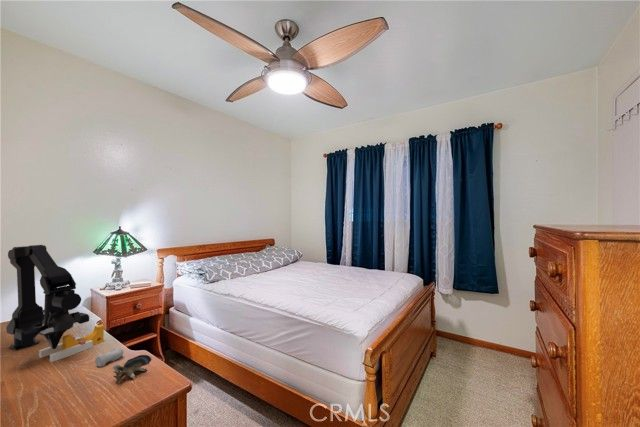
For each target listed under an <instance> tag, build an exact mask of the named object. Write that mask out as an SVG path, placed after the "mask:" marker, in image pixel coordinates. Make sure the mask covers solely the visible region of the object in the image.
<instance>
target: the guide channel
mask: <svg viewBox="0 0 640 427" xmlns="http://www.w3.org/2000/svg"><path fill="white" fill-rule="evenodd" d="M82 338H83V337H82V336H78V337H75V336H73V339H74V340H75V341H78V340H80V339H82ZM93 346H94V345H93V341H92V340H89V341H87V342H86V341H84V340H82V341H79V344H78V345H75V346H72V347H70V348H67V349H64V350H62V342H59V343H58V345H57V347H56V349H52V348H51V346H48V347H45V348H42V349H39V350H38V353H39V354H38V357H39V358H41V359H42V358H44V357H47V356H49V362H51V363H53V362H58V361H60V360H62V359H65V358H68V357H70V356H72V355H76V354H78V353H80V352H83V351H85V350H89V349H91V348H93Z"/></svg>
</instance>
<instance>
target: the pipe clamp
mask: <svg viewBox="0 0 640 427" xmlns="http://www.w3.org/2000/svg"><path fill="white" fill-rule="evenodd" d="M93 328H94V329H93V331H92V332H91V333H88V334H87V335H86V336H84V337H82V339H80V340H78V341H75V340H74V339H73V337H74V335H73V334H70V333H69V334H66V335H62V341H61V343H62V350H64V349H67V348H70V347H72V346H75V345H78V344H79V341H82V340H84V341H86V342H87V341H89V340H92V341H93V346H95V345H97V344H100V343H102V342H104V335H105V333H104V332H105V330H104V329H105V326H104V325H102V324H99V325H98V324H97V325H94V327H93Z"/></svg>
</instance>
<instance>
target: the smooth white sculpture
mask: <svg viewBox="0 0 640 427" xmlns="http://www.w3.org/2000/svg"><path fill="white" fill-rule="evenodd" d="M123 354H124V350H123V349H122V348H112V349H111V350H109V351H107V352H106V353H100V354H98V355H97V356H96V358H95V360H94V363H95V366H97V367H104V366H105V364H107V363H108V362H115V360H116V361H117V360H118V359H120V358H121V357H122V356H123Z"/></svg>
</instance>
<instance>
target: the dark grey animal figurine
mask: <svg viewBox="0 0 640 427" xmlns="http://www.w3.org/2000/svg"><path fill="white" fill-rule="evenodd" d="M152 360H153V358H152V357H151V356H150V355H148V354H139V355H137V356H135V357H133V358H129V359H128V360H126V361H125V363H124V364H123V366H121V365H119V364H116V365H114V366H112V370H114V371H112V373H115V375H113V376H112V377H113V378H114V379H116V381H115V383H116V384H118V383H119V382H120V381H121V380H122V378H123V377H124V376H127V377H130V378H131V379H133V381H135V379H136V375H135V373H134V372H147V371H146V369H147V368H145V369H144V368H143V366H147V365H150V363H151V361H152ZM116 384H115V385H116Z"/></svg>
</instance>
